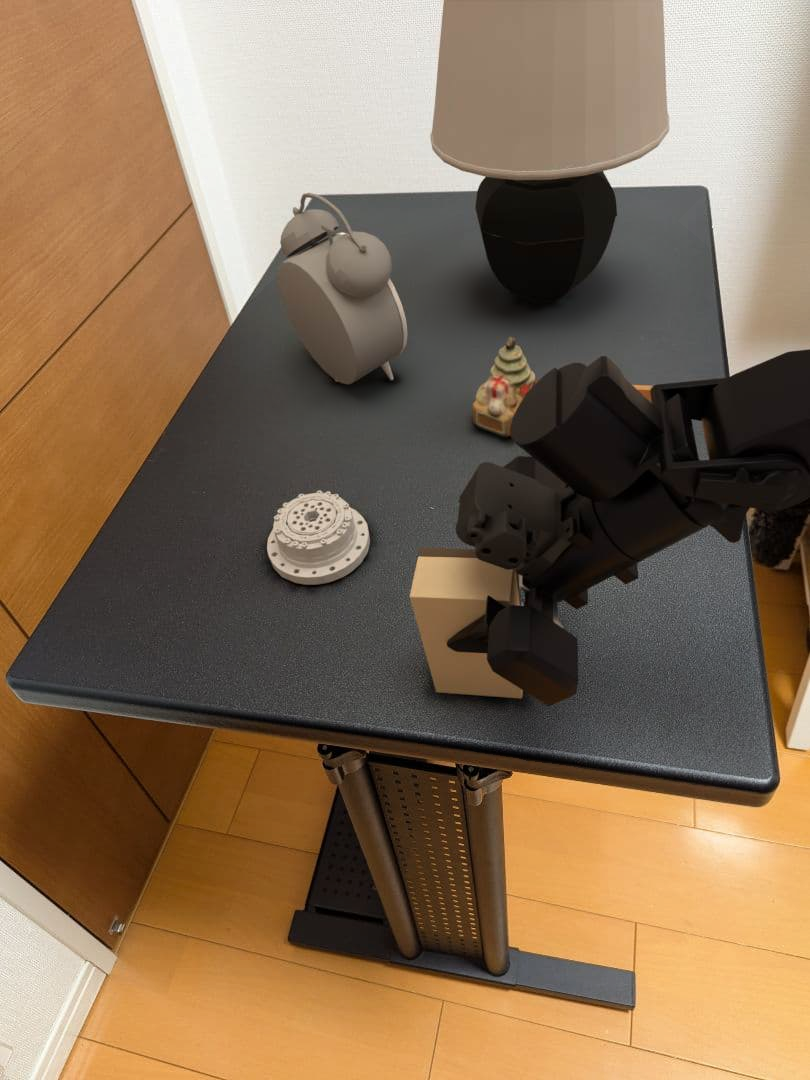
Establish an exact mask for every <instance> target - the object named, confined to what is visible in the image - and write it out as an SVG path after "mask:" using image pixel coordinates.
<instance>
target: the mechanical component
mask: <svg viewBox="0 0 810 1080" xmlns="http://www.w3.org/2000/svg"><path fill="white" fill-rule="evenodd" d="M276 512H277V514H276V515H274V516H273V520H274V521H273V528H272V530H271V532H270V533H269V536H268V538H267V545H266V550H267V555H268V558H269V561H270V563H271V565H272V568H273V570H275V571H276V572H277V573H278V575H280V577H281V578H283V579H285V580H288V581H290V582H293V583H294V584H301V585H305V586H306V585H307V586H308V585H311V586H312V585H315V586H316V585H323V584H329V583H331V582H334V581H337V580H339V579H342V578H344V577H346V576H347V575H349V574H350V573H352V572H353V571H354V570H356V569H357V568H358V567H359V566H360V565H361V564H362V563H363V561H364V559H365V558H366V556H367V554H368V553H369V548H370V546H371V538H370V531H369V526H368V523H367V522H366V521H367V520H365V517H363V516H362V514H360V513H359V512H358V510H356V509H354V508H352V507H350V504H349V503H348V502H347V501H345V500H344V499H343V498H342V497H340V496H339V494H338V493H334V494H333V493H331V491H328V490H327V491H325V492H323V491H322V490H317V491H316V492H314V493H312V492H311V493H307V494H304V493H299V494H298V496H297V497H296V498H294V499H292V500H290V501H289V502H284V503H282V507H281V508H278V509H277V511H276Z"/></svg>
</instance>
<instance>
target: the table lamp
mask: <svg viewBox="0 0 810 1080" xmlns="http://www.w3.org/2000/svg"><path fill="white" fill-rule="evenodd" d="M442 5H443V6H442V13H441V14H442V15H441V25H440V26H441V27H440V35H439V36H440V38H439V48H438V57H437V58H438V60H437V71H436V72H437V73H436V85H435V96H434V97H435V98H434V109H433V117H432V118H433V119H432V127H431V133H430V135H429V137H430V144H431V149H432V151H433V152H434V153H435V155H436V156H437V157H438V158H439V159H440V160H441V161H442V162H443V163H445V164H447V165H449V166H450V167H453V168H455V169H456V170H457V169H458V170H460V171H461V172H465V173H470V174H474V175H476V176H477V175H478V176H481V177H484V178H483V179H482V180H481V181H480V183H479V185H478V188H477V191H476V198H475V207H474V208H475V212H476V217H477V222H478V224H479V225H478V226H479V229H480V230H479V231H480V233H481V238H482V243H483V247H484V251H485V254H486V255H485V256H486V258H487V261H488V265H489V267H490V270H491V271H492V273H493V275H494V277H495V278H496V280H497V282H499V284H500V285H501V286H502V287H503V288H504V289H506V290H507V291H508V292H510V293H511V294H512V295H514V296H516V297H518V298H519V299H522V300H524V301H525V300H526V301H528V302H531V303H534V304H544V303H551V302H553V303H554V302H557V301H559V300H560V299H561V298H563V297H564V296H565V295H567V294H568V293H570V292H571V291H572V290H573V289H575V288H576V287H578V286H579V285H580V284H581V283H583V282H584V281H585V280H586V279H587V278H588V277H589V276H590V275H591V274H592V273H593V272H594V270H595V269H596V268H597V266H598V264H599V263H600V261H601V260H602V258H603V256H604V254H605V252H606V250H607V248H608V245H609V243H610V240H611V236H612V232H613V229H614V227H615V222H616V218H617V216H618V207H617V198H616V193H615V191H614V189H613V187H612V185H611V183H610V182H609V179H608V178H607V176H606V174H605V171H608V170H609V171H610V170H613V169H617V168H619V167H621V166H624V165H627V164H630V163H632V162H634V161H637V160H639V159H641V158H643V157H644V156H646V155H648V154H649V153H651V152H652V151H653V150H655V149H657V148H658V147H659V145H661V143H662V142H663V140H664V139H665V137H666V136H667V135H668V133H669V131H670V115H669V113H668V97H667V95H668V94H667V77H666V76H667V75H666V73H667V72H666V42H665V41H666V40H665V39H666V38H665V19H664V18H665V17H664V15H665V13H664V12H665V11H664V0H443V4H442Z"/></svg>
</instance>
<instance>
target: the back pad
mask: <svg viewBox="0 0 810 1080" xmlns="http://www.w3.org/2000/svg"><path fill="white" fill-rule="evenodd" d="M409 592H410V593H409V600H410V604H411V606H412V607H411V608H412V610H413V614H414V618H415V621H416V624H417V628H418V632H419V636H420V639H421V642H422V646H423V649H424V653H425V658H426V660H427V664H428V667H429V671H430V674H431V678H432V681H433V685H434V689H435V692H436V693H440V694H441V693H442V694H453V695H454V694H456V695H469V696H483V697H494V698H495V697H498V698H509V699H522V698H523V692H524V691H523V690H522V689H520V688H519V687H517V686H515V685H514V684H512V683H511V682H509V681H507V680H506V679H504V678H503V677H501V676H499V675H498V674H496V673H495V672H493V671H492V669H491V667H490V665H489V663H488V661H487V653H468V652H456V651H454V650H452V649H450V648H449V647H447V641H448V640H449V639H450V638H451V637H453V636H454V635H455V634H456V633H458V632H459V631H460V630H462V629H463V628H465V627H466V626H468V625H470V624H471V623H473V622H474V621H476V620H477V619H479V618H480V617H482V616H483V615H485V613H486V601H487V596H488V595H489V596H491V597H492V598H494V599H495V600H497V601H498V602H500V603H501V604H502V605H504V606H505V607H508V606H510V605H517V606H519V605H521V604H522V596H521V588H520V587H519V575H518V573H517V572H515V569H510V570H507V569H504V568H501V567H498V566H495V565H492V564H490V563H487V562H484V561H481V560H479V559H478V558H477V557H476V555H475V548H474V549H472V548H470V549H469V548H435V547H434V548H432V547H431V548H430V547H420V548H419V552H418V556H417V560H416V565H415V570H414V574H413V579H412V583H411V588H410V591H409Z"/></svg>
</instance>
